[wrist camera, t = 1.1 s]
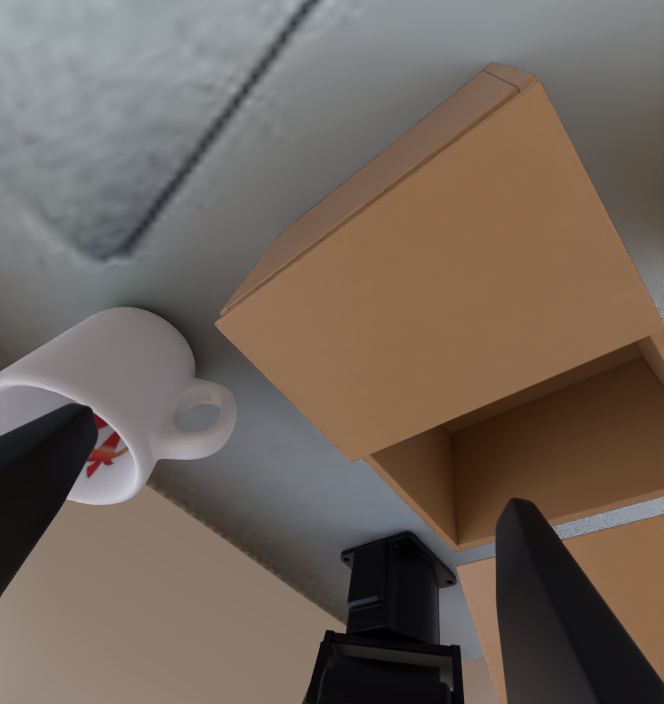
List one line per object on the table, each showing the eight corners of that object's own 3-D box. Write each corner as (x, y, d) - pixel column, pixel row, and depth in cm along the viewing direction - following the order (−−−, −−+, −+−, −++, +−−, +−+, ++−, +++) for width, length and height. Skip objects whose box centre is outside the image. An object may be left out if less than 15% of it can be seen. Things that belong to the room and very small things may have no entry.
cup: (262, 309, 23) (199, 412, 17) (260, 419, 28) (211, 533, 22) (68, 275, 24) (-62, 361, 18) (98, 388, 29) (3, 488, 22)
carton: (650, 352, 21) (752, 493, 15) (447, 435, 26) (455, 567, 20) (493, 61, 16) (540, 75, 9) (278, 235, 21) (210, 323, 14)
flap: (750, 492, 15) (749, 492, 15) (455, 566, 20) (458, 565, 20) (940, 785, 11) (935, 779, 11) (525, 784, 16) (527, 780, 16)
